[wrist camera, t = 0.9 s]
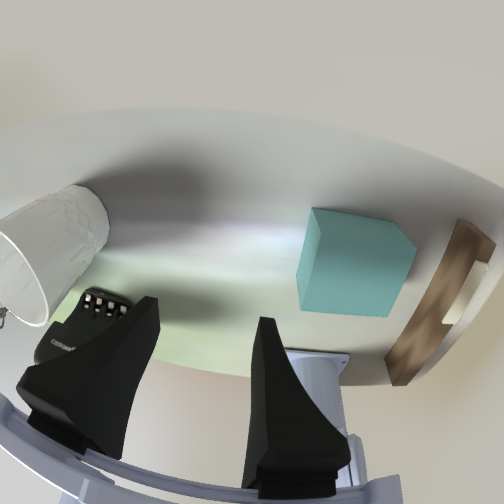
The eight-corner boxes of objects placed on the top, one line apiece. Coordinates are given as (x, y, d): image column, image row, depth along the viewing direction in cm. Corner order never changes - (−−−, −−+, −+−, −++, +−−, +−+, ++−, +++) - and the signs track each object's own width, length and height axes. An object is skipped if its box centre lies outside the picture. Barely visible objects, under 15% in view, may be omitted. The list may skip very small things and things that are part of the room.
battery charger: (139, 296, 25) (88, 391, 15) (140, 323, 27) (99, 412, 17) (82, 278, 24) (21, 355, 14) (86, 304, 26) (36, 380, 16)
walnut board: (397, 359, 28) (407, 387, 24) (384, 359, 28) (393, 388, 24) (471, 223, 19) (498, 246, 15) (458, 219, 19) (485, 241, 15)
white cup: (45, 181, 19) (-32, 227, 11) (108, 174, 19) (21, 228, 10) (62, 254, 23) (4, 315, 14) (123, 260, 23) (65, 337, 14)
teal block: (371, 283, 23) (387, 317, 19) (296, 274, 23) (300, 310, 19) (393, 221, 20) (418, 249, 16) (311, 206, 20) (321, 233, 16)
